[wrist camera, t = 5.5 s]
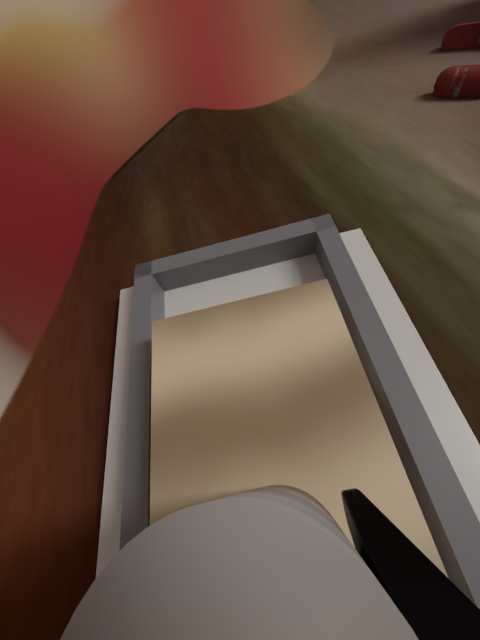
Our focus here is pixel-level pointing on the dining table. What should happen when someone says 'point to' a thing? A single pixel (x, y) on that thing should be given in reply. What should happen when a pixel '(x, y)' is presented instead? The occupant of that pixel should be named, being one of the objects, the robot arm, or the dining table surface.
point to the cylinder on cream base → (258, 484)
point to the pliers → (460, 78)
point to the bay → (373, 350)
